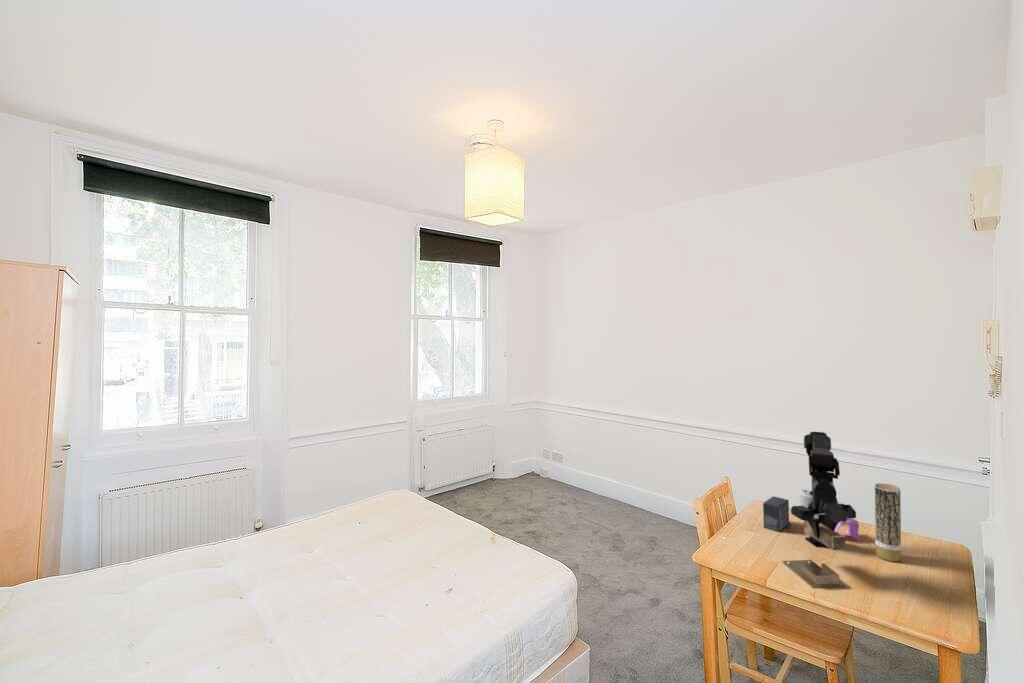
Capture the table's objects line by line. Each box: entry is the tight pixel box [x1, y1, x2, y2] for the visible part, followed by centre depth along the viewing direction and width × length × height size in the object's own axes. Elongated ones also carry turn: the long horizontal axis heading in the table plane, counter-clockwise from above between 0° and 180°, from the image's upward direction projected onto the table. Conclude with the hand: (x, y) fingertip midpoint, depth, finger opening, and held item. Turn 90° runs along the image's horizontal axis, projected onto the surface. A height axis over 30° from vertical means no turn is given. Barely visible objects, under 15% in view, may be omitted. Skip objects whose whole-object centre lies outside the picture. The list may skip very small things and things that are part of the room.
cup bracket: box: [781, 559, 845, 589], centre depth 147 cm, size 15×10×4 cm, turn 1°
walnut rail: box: [803, 520, 846, 551], centre depth 149 cm, size 13×4×4 cm, turn 4°
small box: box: [762, 496, 790, 533], centre depth 183 cm, size 11×6×10 cm, turn 130°
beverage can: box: [799, 488, 812, 508], centre depth 188 cm, size 6×6×12 cm
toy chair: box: [834, 499, 860, 541], centre depth 172 cm, size 8×9×15 cm
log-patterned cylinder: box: [874, 483, 902, 563], centre depth 156 cm, size 7×7×25 cm
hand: (823, 537), depth 149 cm, fingers closed on walnut rail, 4 cm apart
